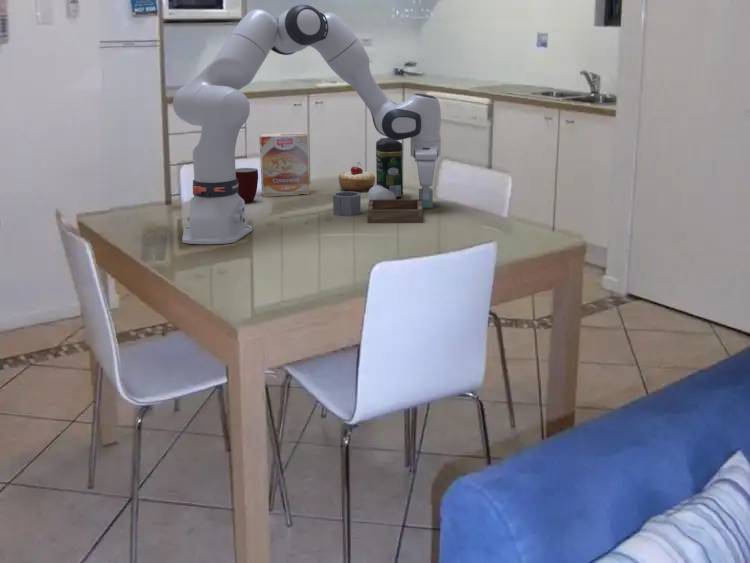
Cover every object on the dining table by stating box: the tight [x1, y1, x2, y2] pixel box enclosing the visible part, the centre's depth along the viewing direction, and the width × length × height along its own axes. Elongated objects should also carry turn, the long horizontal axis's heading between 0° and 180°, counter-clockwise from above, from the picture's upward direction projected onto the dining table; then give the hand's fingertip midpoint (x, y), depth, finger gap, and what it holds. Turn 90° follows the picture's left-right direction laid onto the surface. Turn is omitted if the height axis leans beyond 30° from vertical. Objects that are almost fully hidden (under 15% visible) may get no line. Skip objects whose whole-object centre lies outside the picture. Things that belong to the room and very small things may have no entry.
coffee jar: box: [375, 137, 404, 199], centre depth 290 cm, size 10×8×19 cm
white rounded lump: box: [367, 184, 397, 201], centre depth 276 cm, size 9×6×6 cm, turn 18°
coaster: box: [422, 203, 441, 211], centre depth 275 cm, size 9×9×1 cm
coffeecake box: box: [258, 131, 310, 198], centre depth 296 cm, size 15×7×20 cm, turn 103°
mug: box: [235, 167, 259, 204], centre depth 287 cm, size 10×8×10 cm
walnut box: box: [366, 198, 423, 224], centre depth 261 cm, size 15×15×4 cm
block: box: [418, 188, 434, 208], centre depth 274 cm, size 4×4×5 cm
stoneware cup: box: [332, 191, 362, 216], centre depth 267 cm, size 8×8×6 cm
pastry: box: [338, 161, 376, 192], centre depth 304 cm, size 12×12×9 cm
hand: (425, 196), depth 274 cm, fingers open, 8 cm apart
